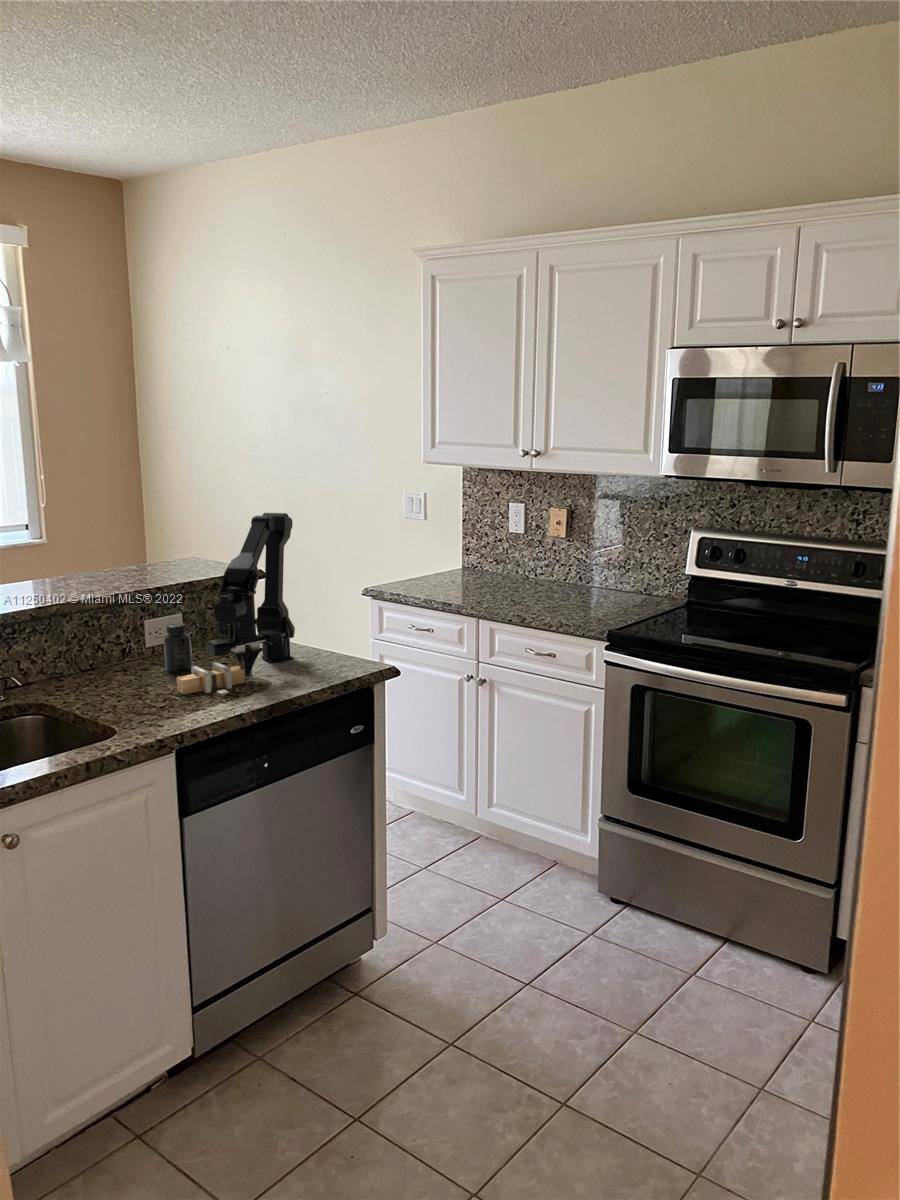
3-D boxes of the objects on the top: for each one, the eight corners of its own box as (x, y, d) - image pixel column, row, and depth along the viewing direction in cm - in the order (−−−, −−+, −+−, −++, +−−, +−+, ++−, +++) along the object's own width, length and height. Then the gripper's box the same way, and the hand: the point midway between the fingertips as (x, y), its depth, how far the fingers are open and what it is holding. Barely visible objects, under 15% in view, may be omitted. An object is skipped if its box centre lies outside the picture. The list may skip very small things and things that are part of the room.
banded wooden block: (238, 679, 242) (237, 665, 241) (244, 682, 239) (244, 668, 238) (177, 691, 232) (176, 676, 231) (183, 694, 229) (182, 680, 229)
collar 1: (196, 684, 237) (195, 665, 236) (211, 692, 231) (209, 672, 230) (192, 685, 236) (191, 666, 235) (206, 693, 230) (205, 673, 229)
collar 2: (217, 680, 241) (216, 661, 240) (232, 688, 234) (231, 668, 233) (213, 681, 240) (211, 662, 239) (227, 689, 234) (226, 669, 233)
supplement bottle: (196, 666, 254) (194, 622, 251) (187, 673, 247) (184, 628, 245) (171, 665, 254) (168, 621, 252) (161, 672, 248) (158, 627, 245)
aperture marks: (203, 679, 241) (203, 678, 241) (228, 692, 231) (228, 691, 231) (195, 681, 240) (195, 680, 240) (221, 694, 229) (221, 693, 229)
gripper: (261, 604, 250) (264, 662, 253) (193, 615, 238) (198, 675, 241) (282, 611, 241) (285, 671, 244) (213, 623, 230) (217, 685, 233)
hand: (246, 675), depth 241 cm, fingers closed
